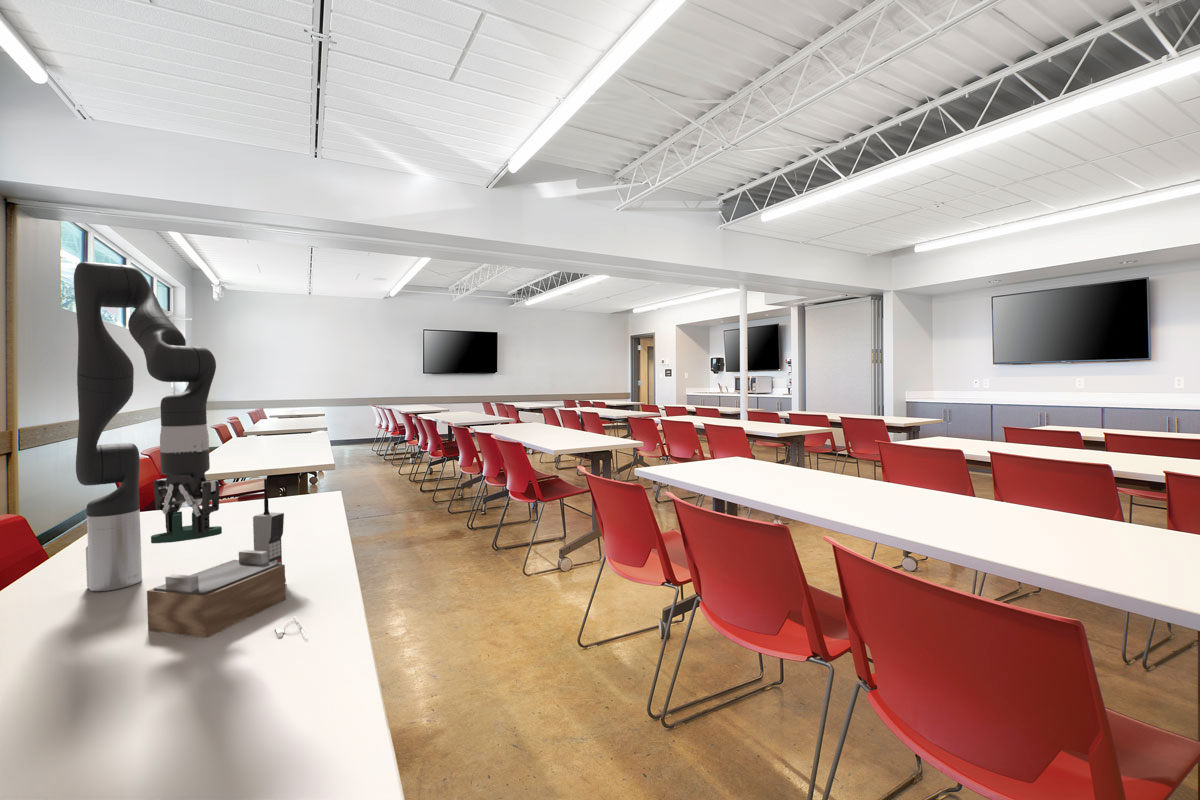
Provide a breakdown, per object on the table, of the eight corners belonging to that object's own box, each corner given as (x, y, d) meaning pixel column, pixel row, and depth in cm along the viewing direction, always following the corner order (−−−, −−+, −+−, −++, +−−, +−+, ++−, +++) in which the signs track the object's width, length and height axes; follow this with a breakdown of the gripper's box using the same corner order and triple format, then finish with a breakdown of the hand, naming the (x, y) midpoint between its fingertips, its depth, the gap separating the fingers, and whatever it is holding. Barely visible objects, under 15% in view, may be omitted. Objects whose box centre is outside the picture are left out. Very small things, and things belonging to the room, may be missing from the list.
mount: (149, 545, 99) (148, 518, 99) (152, 539, 103) (151, 514, 103) (221, 535, 105) (220, 510, 105) (221, 530, 109) (221, 506, 109)
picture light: (309, 643, 96) (309, 632, 96) (281, 651, 94) (281, 639, 94) (296, 618, 107) (296, 607, 107) (271, 624, 105) (271, 613, 105)
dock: (148, 630, 101) (146, 576, 101) (233, 594, 119) (232, 548, 119) (206, 637, 98) (205, 581, 98) (285, 599, 116) (284, 551, 115)
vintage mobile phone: (273, 589, 122) (270, 480, 121) (254, 588, 123) (251, 479, 122) (286, 583, 125) (283, 477, 125) (268, 582, 126) (265, 477, 126)
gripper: (136, 450, 102) (139, 536, 102) (194, 451, 98) (197, 541, 99) (177, 445, 109) (179, 526, 110) (231, 447, 105) (234, 530, 106)
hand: (187, 532), depth 104 cm, fingers closed on mount, 7 cm apart
